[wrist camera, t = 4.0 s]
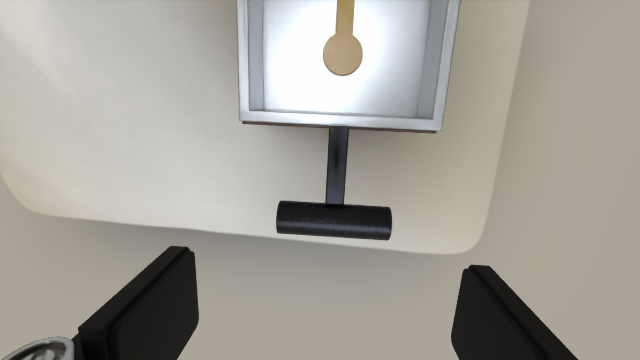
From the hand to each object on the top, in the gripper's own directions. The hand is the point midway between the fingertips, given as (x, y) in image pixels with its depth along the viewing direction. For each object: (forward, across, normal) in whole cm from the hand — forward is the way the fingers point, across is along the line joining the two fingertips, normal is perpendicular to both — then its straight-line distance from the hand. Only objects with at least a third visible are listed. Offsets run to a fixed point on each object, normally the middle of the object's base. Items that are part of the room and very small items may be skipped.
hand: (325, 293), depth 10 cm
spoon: (+11, 0, -11) cm, 15 cm away
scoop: (+11, 0, -9) cm, 14 cm away
